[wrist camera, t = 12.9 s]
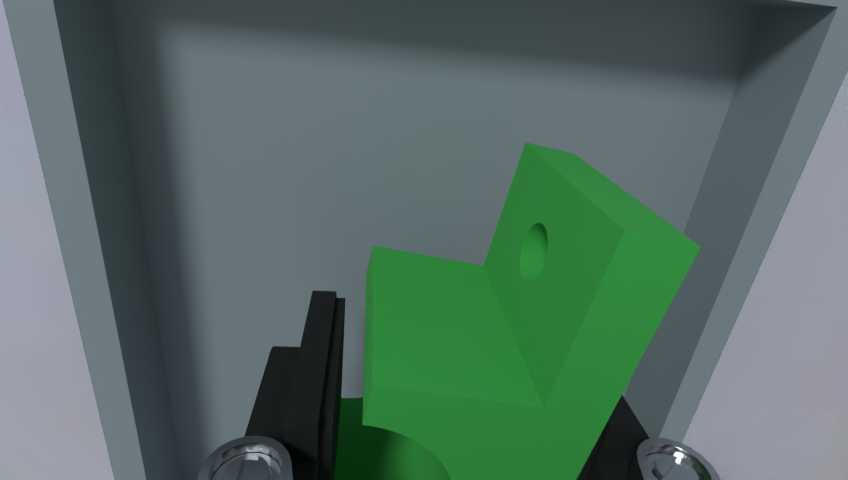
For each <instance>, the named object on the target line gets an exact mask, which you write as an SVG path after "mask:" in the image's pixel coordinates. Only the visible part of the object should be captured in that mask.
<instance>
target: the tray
mask: <svg viewBox="0 0 848 480" xmlns="http://www.w3.org/2000/svg"><path fill="white" fill-rule="evenodd" d="M3 4H4V8H5V12H6V17H7V21H8V25H9V30H10V34H11V38H12V42H13V47H14V51H15V55H16V60H17V64H18V68H19V72H20V77H21V81H22V85H23V90H24V94H25V98H26V102H27V107H28V111H29V115H30V120H31V124H32V128H33V132H34V137H35V141H36V145H37V149H38V154H39V158H40V162H41V167H42V171H43V175H44V179H45V184H46V188H47V192H48V197H49V201H50V205H51V209H52V214H53V218H54V222H55V227H56V231H57V235H58V239H59V244H60V248H61V252H62V257H63V261H64V265H65V269H66V274H67V278H68V282H69V287H70V291H71V295H72V299H73V304H74V308H75V312H76V317H77V321H78V325H79V329H80V334H81V338H82V342H83V347H84V351H85V355H86V359H87V364H88V368H89V372H90V376H91V381H92V385H93V389H94V394H95V398H96V402H97V406H98V411H99V415H100V419H101V424H102V428H103V432H104V436H105V441H106V445H107V449H108V454H109V458H110V462H111V466H112V471H113V475H114V479H115V480H198V476H199V472H200V469H201V466H202V465H203V463H204V462H205V461H206V459H207V458H208V456H209V455H210V454H211V453H213V452H214V451H215V450H216V449H217V448H219V447H220V446H222V445H223V444H225V443H227V442H229V441H231V440H233V439H237V438H241V437H244V436H245V433H246V429H247V426H248V423H249V420H250V416H251V413H252V410H253V406H254V403H255V400H256V397H257V393H258V390H259V387H260V383H261V380H262V377H263V374H264V370H265V367H266V364H267V360H268V357H269V354H270V351H271V348H272V347H273V346H286V347H300V345H301V340H302V336H303V331H304V327H305V322H306V318H307V313H308V309H309V304H310V300H311V295H312V291H313V290H315V291H336V292H337V298H345V323H344V346H343V370H342V392H341V398H360V397H363V383H364V345H365V306H366V273H367V269H368V265H369V260H370V256H371V252H372V247H373V246H379V247H384V248H390V249H395V250H400V251H406V252H411V253H417V254H422V255H428V256H433V257H439V258H444V259H450V260H455V261H461V262H466V263H471V264H477V265H482V266H484V263H485V260H486V257H487V254H488V251H489V248H490V245H491V242H492V239H493V236H494V233H495V230H496V227H497V224H498V221H499V219H500V216H501V213H502V210H503V207H504V204H505V201H506V198H507V195H508V192H509V189H510V186H511V183H512V180H513V177H514V174H515V171H516V168H517V166H518V163H519V160H520V157H521V154H522V151H523V148H524V145H525V142H527V143H531V144H536V145H540V146H544V147H548V148H553V149H557V150H561V151H565V152H569V153H574V154H575V155H577V156H578V157H579V158H581V159H582V160H584V161H585V162H586V163H588V164H589V165H590V166H592V167H593V168H594V169H596V170H597V171H598V172H600V173H601V174H603V175H604V176H605V177H607V178H608V179H609V180H611V181H612V182H613V183H615V184H616V185H618V186H619V187H620V188H622V189H623V190H624V191H626V192H627V193H628V194H630V195H631V196H632V197H634V198H635V199H637V200H638V201H639V202H641V203H642V204H643V205H645V206H646V207H647V208H649V209H650V210H651V211H653V212H654V213H656V214H657V215H658V216H660V217H661V218H662V219H664V220H665V221H666V222H668V223H669V224H671V225H672V226H673V227H675V228H676V229H677V230H679V231H680V232H681V233H683V234H684V235H685V236H687V237H688V238H690V239H691V240H692V241H694V242H695V243H696V244H698V245H699V246H700V247H701V248H700V250H699V252H698V253H697V255H696V257H695V259H694V261H693V263H692V265H691V266H690V268H689V270H688V272H687V274H686V276H685V278H684V280H683V281H682V283H681V285H680V287H679V289H678V291H677V293H676V294H675V296H674V298H673V300H672V302H671V304H670V306H669V308H668V309H667V311H666V313H665V315H664V317H663V319H662V321H661V323H660V324H659V326H658V328H657V330H656V332H655V334H654V336H653V337H652V339H651V341H650V343H649V345H648V347H647V349H646V351H645V352H644V354H643V356H642V358H641V360H640V362H639V364H638V365H637V367H636V369H635V371H634V373H633V375H632V377H631V379H630V380H629V382H628V384H627V386H626V388H625V390H624V392H623V393H622V395H623V397H624V399H625V400H626V402H627V403H628V405H629V406H630V408H631V410H632V411H633V413H634V414H635V416H636V417H637V419H638V421H639V422H640V424H641V425H642V427H643V428H644V430H645V432H646V433H647V435H648V436H649V438H667V439H670V440H674V441H678V442H680V443H682V441H683V438H684V436H685V434H686V432H687V429H688V427H689V425H690V423H691V421H692V418H693V416H694V414H695V412H696V409H697V407H698V405H699V403H700V400H701V398H702V396H703V394H704V391H705V389H706V387H707V385H708V382H709V380H710V378H711V376H712V373H713V371H714V369H715V367H716V364H717V362H718V360H719V358H720V356H721V353H722V351H723V349H724V347H725V344H726V342H727V340H728V338H729V335H730V333H731V331H732V329H733V326H734V324H735V322H736V320H737V317H738V315H739V313H740V311H741V308H742V306H743V304H744V302H745V299H746V297H747V295H748V293H749V290H750V288H751V286H752V284H753V282H754V279H755V277H756V275H757V273H758V270H759V268H760V266H761V264H762V261H763V259H764V257H765V255H766V252H767V250H768V248H769V246H770V243H771V241H772V239H773V237H774V234H775V232H776V230H777V228H778V225H779V223H780V221H781V219H782V216H783V214H784V212H785V210H786V208H787V205H788V203H789V201H790V199H791V196H792V194H793V192H794V190H795V187H796V185H797V183H798V181H799V178H800V176H801V174H802V172H803V169H804V167H805V165H806V163H807V160H808V158H809V156H810V154H811V151H812V149H813V147H814V145H815V142H816V140H817V138H818V136H819V134H820V131H821V129H822V127H823V125H824V122H825V120H826V118H827V116H828V113H829V111H830V109H831V107H832V104H833V102H834V100H835V98H836V95H837V93H838V91H839V89H840V86H841V84H842V82H843V80H844V77H845V75H846V73H847V71H848V0H3Z"/></svg>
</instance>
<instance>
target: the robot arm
mask: <svg viewBox="0 0 848 480" xmlns="http://www.w3.org/2000/svg"><path fill="white" fill-rule="evenodd" d="M344 323H345V298H337V292H336V291H315V290H313V291H312V295H311V300H310V304H309V309H308V313H307V318H306V322H305V327H304V331H303V336H302V340H301V345H300V347H286V346H273V347H272V348H271V351H270V354H269V357H268V360H267V364H266V367H265V370H264V374H263V377H262V380H261V383H260V387H259V390H258V393H257V397H256V400H255V403H254V406H253V410H252V413H251V416H250V420H249V423H248V426H247V429H246V433H245V436H244V437H241V438H237V439H233V440H231V441H229V442H227V443H225V444H223V445H222V446H220V447H219V448H217V449H216V450H215V451H214V452H213V453H211V454H210V455H209V456H208V458H207V459H206V461H205V462H204V463H203V465H202V466H201V469H200V472H199V476H198V480H334V475H335V464H336V452H337V441H338V429H339V418H340V406H341V392H342V370H343V346H344ZM576 480H721V479H720V477H719V475H718V474H717V472H716V471H715V469H714V468H713V466H712V465H711V464H710V463H709V462H708V461H707V460H706V459H705V458H704V457H703V456H702V455H700V454H699V453H697V452H696V451H695V450H693V449H692V448H690V447H688V446H686V445H684V444H682V443H680V442H678V441H674V440H670V439H667V438H649V436H648V435H647V433H646V432H645V430H644V428H643V427H642V425H641V424H640V422H639V421H638V419H637V417H636V416H635V414H634V413H633V411H632V410H631V408H630V406H629V405H628V403H627V402H626V400H625V399H624V397H623V395H621V397H620V399H619V401H618V403H617V405H616V407H615V408H614V410H613V412H612V414H611V416H610V418H609V420H608V421H607V423H606V425H605V427H604V429H603V431H602V433H601V435H600V436H599V438H598V440H597V442H596V444H595V446H594V448H593V449H592V451H591V453H590V455H589V457H588V459H587V461H586V463H585V464H584V466H583V468H582V470H581V472H580V474H579V476H578V478H577V479H576Z"/></svg>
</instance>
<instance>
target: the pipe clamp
mask: <svg viewBox="0 0 848 480" xmlns="http://www.w3.org/2000/svg"><path fill="white" fill-rule="evenodd" d="M700 248H701V247H700V246H699V245H698V244H696V243H695V242H694V241H692V240H691V239H690V238H688V237H687V236H685V235H684V234H683V233H681V232H680V231H679V230H677V229H676V228H675V227H673V226H672V225H671V224H669V223H668V222H666V221H665V220H664V219H662V218H661V217H660V216H658V215H657V214H656V213H654V212H653V211H651V210H650V209H649V208H647V207H646V206H645V205H643V204H642V203H641V202H639V201H638V200H637V199H635V198H634V197H632V196H631V195H630V194H628V193H627V192H626V191H624V190H623V189H622V188H620V187H619V186H618V185H616V184H615V183H613V182H612V181H611V180H609V179H608V178H607V177H605V176H604V175H603V174H601V173H600V172H598V171H597V170H596V169H594V168H593V167H592V166H590V165H589V164H588V163H586V162H585V161H584V160H582V159H581V158H579V157H578V156H577V155H575V154H574V153H569V152H565V151H561V150H557V149H553V148H548V147H544V146H540V145H536V144H531V143H527V142H525V145H524V148H523V151H522V154H521V157H520V160H519V163H518V166H517V168H516V171H515V174H514V177H513V180H512V183H511V186H510V189H509V192H508V195H507V198H506V201H505V204H504V207H503V210H502V213H501V216H500V219H499V221H498V224H497V227H496V230H495V233H494V236H493V239H492V242H491V245H490V248H489V251H488V254H487V257H486V260H485V263H484V266H482V265H477V264H471V263H466V262H461V261H455V260H450V259H444V258H439V257H433V256H428V255H422V254H417V253H411V252H406V251H400V250H395V249H390V248H384V247H379V246H373V247H372V252H371V256H370V260H369V265H368V269H367V273H366V306H365V345H364V383H363V397H360V398H341V406H340V418H339V429H338V441H337V452H336V464H335V475H334V480H576V479H577V478H578V476H579V474H580V472H581V470H582V468H583V466H584V464H585V463H586V461H587V459H588V457H589V455H590V453H591V451H592V449H593V448H594V446H595V444H596V442H597V440H598V438H599V436H600V435H601V433H602V431H603V429H604V427H605V425H606V423H607V421H608V420H609V418H610V416H611V414H612V412H613V410H614V408H615V407H616V405H617V403H618V401H619V399H620V397H621V395H622V393H623V392H624V390H625V388H626V386H627V384H628V382H629V380H630V379H631V377H632V375H633V373H634V371H635V369H636V367H637V365H638V364H639V362H640V360H641V358H642V356H643V354H644V352H645V351H646V349H647V347H648V345H649V343H650V341H651V339H652V337H653V336H654V334H655V332H656V330H657V328H658V326H659V324H660V323H661V321H662V319H663V317H664V315H665V313H666V311H667V309H668V308H669V306H670V304H671V302H672V300H673V298H674V296H675V294H676V293H677V291H678V289H679V287H680V285H681V283H682V281H683V280H684V278H685V276H686V274H687V272H688V270H689V268H690V266H691V265H692V263H693V261H694V259H695V257H696V255H697V253H698V252H699V250H700Z"/></svg>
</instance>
